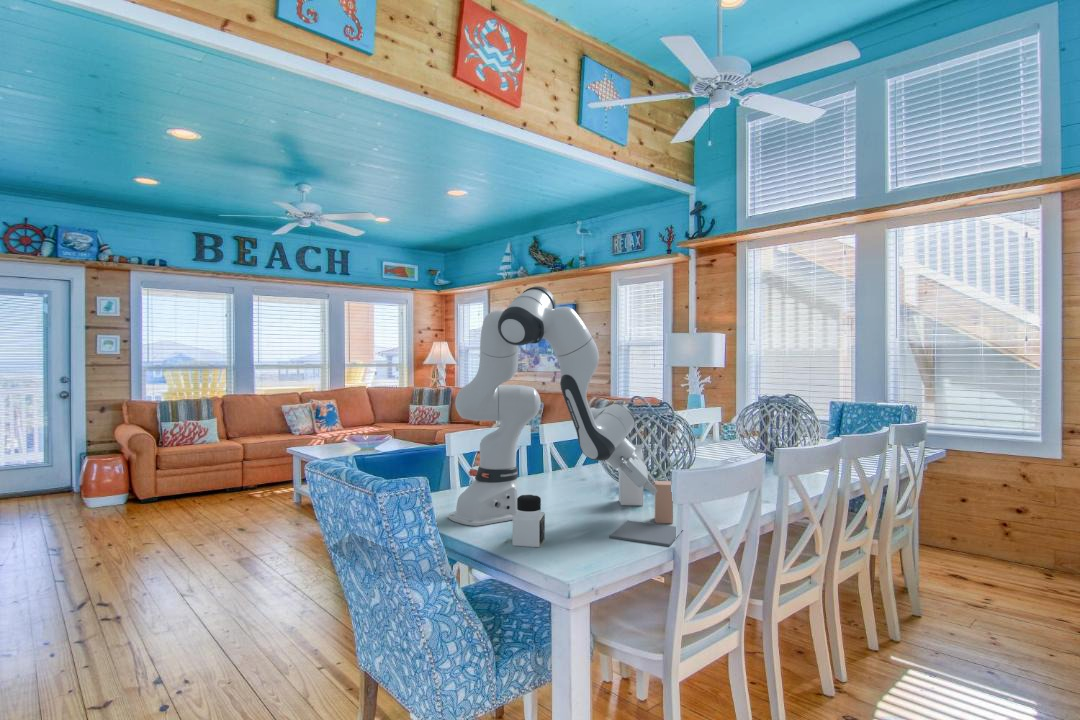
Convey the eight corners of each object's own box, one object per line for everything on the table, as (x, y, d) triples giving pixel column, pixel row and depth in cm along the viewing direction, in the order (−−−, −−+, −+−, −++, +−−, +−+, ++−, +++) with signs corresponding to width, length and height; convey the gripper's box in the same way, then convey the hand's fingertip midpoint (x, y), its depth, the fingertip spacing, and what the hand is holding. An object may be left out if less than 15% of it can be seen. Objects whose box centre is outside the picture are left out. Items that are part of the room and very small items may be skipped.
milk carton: (643, 505, 189) (643, 446, 189) (621, 505, 189) (621, 446, 189) (640, 500, 196) (640, 443, 196) (618, 500, 196) (618, 443, 196)
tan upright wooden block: (655, 522, 170) (655, 484, 170) (654, 517, 175) (654, 480, 175) (672, 523, 169) (673, 485, 169) (671, 518, 174) (671, 481, 174)
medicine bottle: (540, 547, 147) (540, 499, 147) (512, 546, 149) (512, 498, 149) (544, 539, 154) (545, 493, 154) (518, 537, 156) (518, 492, 156)
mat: (609, 537, 156) (609, 535, 156) (627, 522, 170) (627, 520, 170) (669, 546, 149) (669, 544, 149) (683, 529, 163) (683, 527, 163)
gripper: (628, 452, 163) (664, 489, 161) (629, 442, 183) (661, 475, 181) (612, 468, 163) (648, 505, 162) (615, 456, 184) (647, 489, 182)
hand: (655, 489), depth 172 cm, fingers open, 8 cm apart
